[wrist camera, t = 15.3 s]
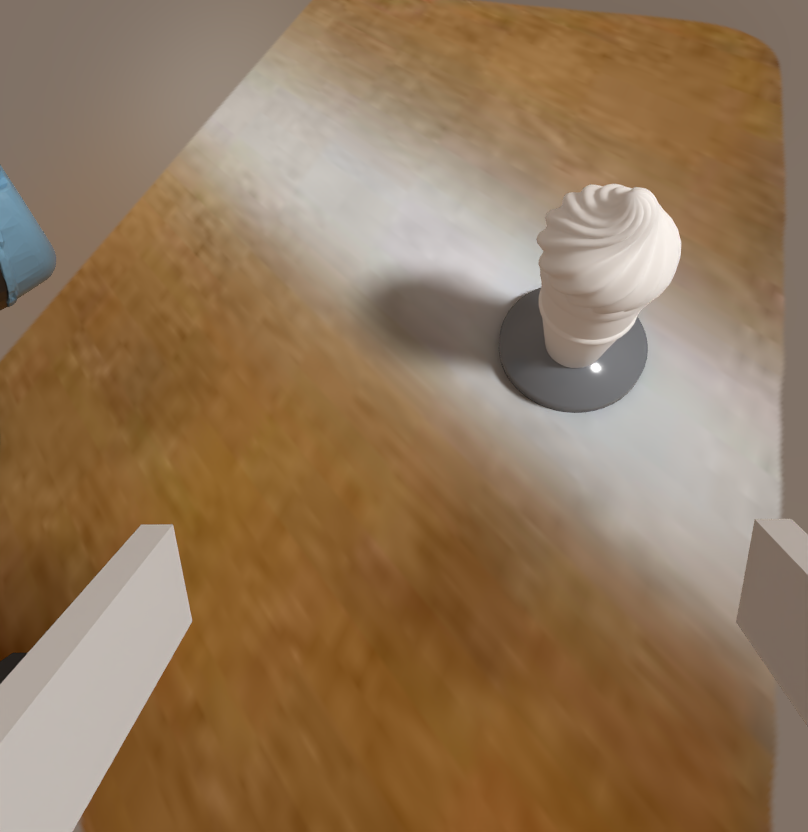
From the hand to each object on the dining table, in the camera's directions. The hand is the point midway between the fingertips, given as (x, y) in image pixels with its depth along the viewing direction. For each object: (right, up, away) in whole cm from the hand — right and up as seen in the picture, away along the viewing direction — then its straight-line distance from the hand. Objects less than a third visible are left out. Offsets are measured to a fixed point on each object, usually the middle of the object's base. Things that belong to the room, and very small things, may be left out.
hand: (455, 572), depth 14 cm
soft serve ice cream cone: (+12, +9, +32) cm, 36 cm away
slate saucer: (+12, +9, +33) cm, 36 cm away
